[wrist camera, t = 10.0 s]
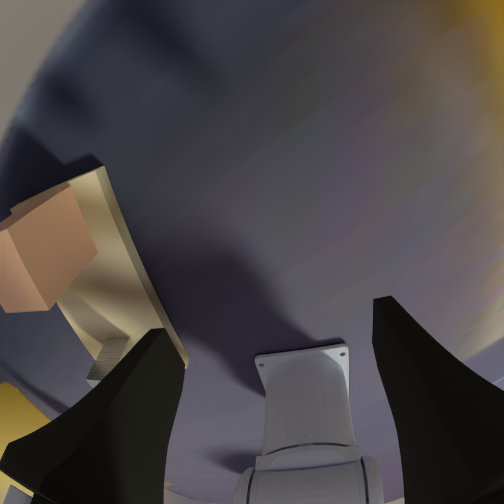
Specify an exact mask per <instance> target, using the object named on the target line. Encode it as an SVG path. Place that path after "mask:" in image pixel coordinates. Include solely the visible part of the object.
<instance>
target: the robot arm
mask: <svg viewBox="0 0 504 504" xmlns="http://www.w3.org/2000/svg"><path fill="white" fill-rule="evenodd" d="M372 344H373V348H374V353H375V358H376V362H377V367H378V370H379V374H380V377H381V380H382V383H383V386H384V389H385V392H386V395H387V398H388V402H389V405H390V408H391V411H392V415H393V418H394V421H395V425H396V430H397V435H398V441H399V448H400V454H401V463H402V472H403V483H404V498H405V504H504V391H503V390H501V389H500V388H498V387H497V386H495V385H493V384H492V383H490V382H488V381H487V380H485V379H484V378H482V377H481V376H479V375H478V374H476V373H475V372H474V371H472V370H471V369H470V368H468V367H467V366H466V365H464V364H463V363H462V362H460V361H459V360H458V359H457V358H455V357H454V356H453V355H452V354H451V353H450V352H448V351H447V350H446V349H445V348H444V347H443V346H442V345H440V344H439V343H438V342H437V341H436V340H435V339H434V338H433V337H432V336H431V335H430V334H429V333H428V332H427V331H426V330H425V329H423V328H422V327H421V326H420V325H419V324H418V323H417V322H416V321H415V320H414V319H413V317H412V316H411V315H410V314H409V313H408V312H407V311H406V310H405V309H404V308H403V307H402V306H401V305H400V304H399V303H398V302H397V301H396V300H395V299H394V298H393V297H392V296H387V297H382V298H376V299H373V334H372ZM342 352H343V353H342ZM255 364H256V367H257V370H258V373H259V375H260V378H261V381H262V384H263V386H264V389H265V392H266V400H265V419H264V437H263V453H262V456H257V457H256V465H255V467H250V468H248V469H246V470H245V472H244V473H243V474H242V475H241V476H240V477H239V479H238V481H237V484H236V488H235V494H234V504H383V486H382V479H381V474H380V470H379V466H378V464H377V462H376V461H375V460H373V459H372V458H371V457H370V456H368V455H366V456H361V458H360V451H359V446H355V440H354V432H353V425H352V418H351V411H350V405H349V358H348V346H347V344H336V345H330V346H324V347H318V348H311V349H304V350H297V351H290V352H282V353H274V354H265V355H258V356H256V357H255ZM184 373H185V363H184V361H183V359H182V358H181V356H180V354H179V352H178V351H177V349H176V347H175V345H174V343H173V342H172V340H171V338H170V336H169V334H168V332H167V331H166V329H165V328H154V329H150V330H149V331H148V332H147V333H146V334H145V335H144V336H143V337H142V338H141V339H140V340H139V341H138V342H137V343H136V344H135V345H134V346H133V348H132V349H131V350H130V351H129V352H128V353H127V354H126V355H125V356H124V357H123V358H122V359H121V361H120V362H119V363H118V364H117V365H116V366H115V367H114V368H113V369H112V370H111V371H110V372H109V373H108V374H107V375H106V376H105V377H104V378H103V379H102V380H101V381H100V382H99V383H98V384H97V385H96V386H95V387H94V388H93V389H92V390H91V391H90V392H89V393H88V394H87V395H86V396H84V397H83V398H82V399H81V400H80V401H78V402H77V403H76V404H75V405H74V406H72V407H71V408H70V409H68V410H67V411H66V412H64V413H63V414H61V415H60V416H59V417H57V418H56V419H54V420H53V421H51V422H50V423H48V424H46V425H45V426H43V427H41V428H40V429H38V430H36V431H34V432H32V433H31V434H28V435H26V436H24V437H22V438H20V439H17V440H15V441H13V442H10V443H9V444H8V445H7V447H6V449H5V452H4V453H3V456H2V458H1V460H0V470H1V471H2V472H3V473H5V474H6V475H8V476H9V477H10V478H12V479H13V480H15V481H16V482H18V483H20V484H21V485H23V486H24V487H26V488H27V489H29V490H30V491H32V492H34V495H33V497H31V496H29V495H27V494H26V493H24V492H23V491H21V490H19V489H18V488H16V487H14V486H13V485H10V487H9V490H8V492H7V495H6V498H5V500H4V503H3V504H163V501H164V499H163V497H164V476H165V465H166V457H167V449H168V443H169V439H170V435H171V431H172V427H173V423H174V419H175V416H176V412H177V408H178V404H179V400H180V397H181V393H182V388H183V381H184Z"/></svg>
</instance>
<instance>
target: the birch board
mask: <svg viewBox="0 0 504 504" xmlns="http://www.w3.org/2000/svg"><path fill="white" fill-rule="evenodd" d="M69 186H71V187H72V189H73V192H74V195H75V197H76V200H77V203H78V205H79V208H80V210H81V213H82V215H83V218H84V220H85V223H86V225H87V228H88V230H89V232H90V235H91V237H92V239H93V242H94V244H95V246H96V248H97V251H98V253H97V254H96V255H95V257H94V258H93V259H92V260H91V261H90V262H89V263H88V264H87V266H86V267H85V268H84V269H83V270H82V271H81V272H80V274H79V275H78V276H77V277H76V278H75V279H74V281H73V282H72V283H71V284H70V285H69V287H68V288H67V289H66V290H65V291H64V293H63V294H62V295H61V296H60V297H59V299H58V300H57V301H56V302H57V304H58V306H59V307H60V309H61V310H62V312H63V314H64V315H65V317H66V318H67V320H68V322H69V323H70V325H71V326H72V328H73V329H74V331H75V332H76V334H77V335H78V337H79V338H80V340H81V341H82V342H83V344H84V345H85V347H86V348H87V350H88V351H89V352H90V354H91V355H92V356H93V358H94V359H95V360H96V358H97V357H98V355H99V353H100V351H101V349H102V347H103V345H104V344H105V342H106V340H107V338H115V337H131V338H132V340H133V342H134V343H135V344H136V343H137V342H138V341H139V340H140V339H141V338H142V337H143V336H144V335H145V334H146V333H147V332H148V331H149V330H150V329H154V328H165V329H166V331H167V332H168V334H169V336H170V338H171V340H172V342H173V343H174V345H175V347H176V349H177V351H178V352H179V354H180V356H181V358H182V359H183V361H184V363H185V368H187V366H188V362H189V359H190V358H189V357H188V355H187V353H186V351H185V349H184V347H183V346H182V344H181V342H180V340H179V338H178V336H177V334H176V332H175V330H174V328H173V326H172V325H171V323H170V321H169V319H168V317H167V315H166V313H165V311H164V309H163V307H162V304H161V302H160V300H159V298H158V296H157V294H156V292H155V290H154V288H153V286H152V283H151V281H150V279H149V277H148V275H147V273H146V270H145V268H144V266H143V264H142V261H141V259H140V257H139V254H138V252H137V250H136V248H135V245H134V243H133V240H132V238H131V236H130V233H129V231H128V228H127V226H126V223H125V221H124V218H123V216H122V213H121V211H120V208H119V205H118V203H117V200H116V198H115V195H114V192H113V189H112V187H111V184H110V181H109V178H108V175H107V173H106V170H105V167H104V166H102V167H99V168H97V169H94V170H92V171H89V172H87V173H84V174H82V175H79V176H77V177H75V178H72V179H70V180H68V181H65V182H63V183H61V184H59V185H56V186H54V187H52V188H50V189H48V190H45V191H43V192H41V193H39V194H37V195H35V196H33V197H31V198H29V199H27V200H25V201H23V202H21V203H19V204H17V205H16V206H14V207H13V208H11V209H10V210H11V213H12V214H13V213H15V212H16V211H18V210H19V209H21V208H22V207H24V206H25V205H27V204H29V203H31V202H33V201H36V200H38V199H40V198H42V197H45V196H47V195H49V194H52V193H54V192H56V191H59V190H61V189H64V188H66V187H69Z"/></svg>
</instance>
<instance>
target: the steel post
mask: <svg viewBox="0 0 504 504" xmlns="http://www.w3.org/2000/svg"><path fill="white" fill-rule="evenodd" d="M134 345H135V343H134V342H133V340H132V338H131V337H115V338H107V340H106V342H105V344H104V345H103V347H102V349H101V351H100V353H99V355H98V357H97V358H96V360H95V362H94V364H93V366H92V368H91V370H90V372H89V374H88V376H87V378H86V381H87V382H88V383H89V384H90V385H91V386H92V388H94V387H95V386H96V385H97V384H98V383H99V382H100V381H101V380H102V379H103V378H104V377H105V376H106V375H107V374H108V373H109V372H110V371H111V370H112V369H113V368H114V367H115V366H116V365H117V364H118V363H119V362H120V361H121V359H122V358H123V357H124V356H125V355H126V354H127V353H128V352H129V351H130V350H131V349H132V348H133V346H134Z"/></svg>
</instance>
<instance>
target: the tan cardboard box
mask: <svg viewBox="0 0 504 504" xmlns="http://www.w3.org/2000/svg"><path fill="white" fill-rule="evenodd" d="M97 253H98V251H97V248H96V246H95V244H94V242H93V239H92V237H91V235H90V232H89V230H88V228H87V225H86V223H85V220H84V218H83V215H82V213H81V210H80V208H79V205H78V203H77V200H76V197H75V195H74V192H73V189H72V187H71V186H69V187H66V188H64V189H61V190H59V191H56V192H54V193H52V194H49V195H47V196H45V197H42V198H40V199H38V200H36V201H33V202H31V203H29V204H27V205H25V206H24V207H22V208H21V209H19V210H18V211H16V212H15V213H13V214H12V215H10V216H9V217H8V218H6V219H5V220H3V221H2V222H0V304H1V306H2V307H3V309H4V311H5V312H6V313H13V312H29V311H44V310H50V309H51V307H52V306H53V305H54V304H55V302H56V301H57V300H58V299H59V297H60V296H61V295H62V294H63V293H64V291H65V290H66V289H67V288H68V287H69V285H70V284H71V283H72V282H73V281H74V279H75V278H76V277H77V276H78V275H79V274H80V272H81V271H82V270H83V269H84V268H85V267H86V266H87V264H88V263H89V262H90V261H91V260H92V259H93V258H94V257H95V255H96V254H97Z"/></svg>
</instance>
